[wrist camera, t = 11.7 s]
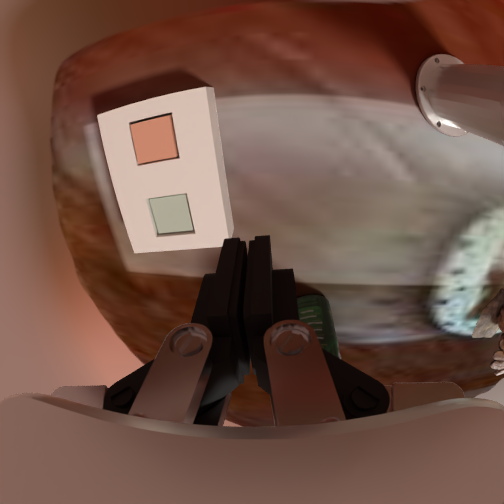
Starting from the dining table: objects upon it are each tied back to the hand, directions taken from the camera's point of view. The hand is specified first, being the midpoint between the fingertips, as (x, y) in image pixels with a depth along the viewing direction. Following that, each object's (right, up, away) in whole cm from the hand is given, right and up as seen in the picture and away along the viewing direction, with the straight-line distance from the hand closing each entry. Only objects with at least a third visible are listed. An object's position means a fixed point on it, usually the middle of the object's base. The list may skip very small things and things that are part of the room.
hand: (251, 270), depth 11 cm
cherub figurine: (+66, -16, +40) cm, 78 cm away
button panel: (-11, +12, +25) cm, 30 cm away
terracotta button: (-11, +15, +21) cm, 28 cm away
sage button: (-10, +7, +27) cm, 29 cm away
